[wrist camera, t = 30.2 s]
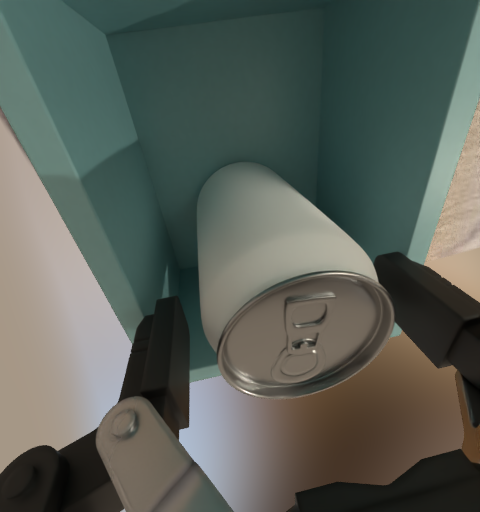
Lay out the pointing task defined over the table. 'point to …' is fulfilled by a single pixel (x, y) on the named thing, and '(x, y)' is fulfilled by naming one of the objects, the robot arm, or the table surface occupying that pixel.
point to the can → (283, 288)
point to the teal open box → (235, 123)
